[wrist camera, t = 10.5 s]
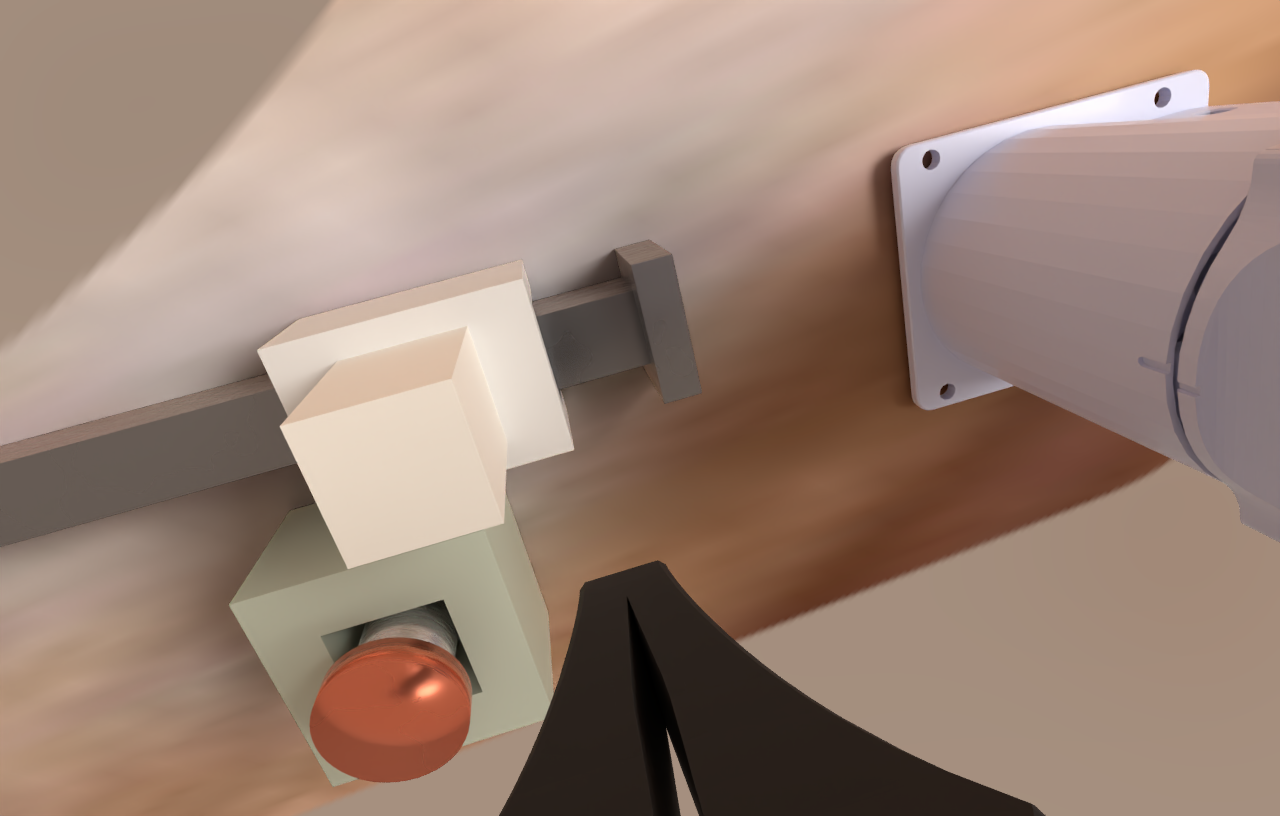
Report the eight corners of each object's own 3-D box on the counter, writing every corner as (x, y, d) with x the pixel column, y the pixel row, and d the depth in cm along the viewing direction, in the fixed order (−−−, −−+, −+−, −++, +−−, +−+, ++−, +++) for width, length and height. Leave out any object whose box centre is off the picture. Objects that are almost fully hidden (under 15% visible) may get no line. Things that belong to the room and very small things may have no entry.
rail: (649, 239, 19) (672, 253, 16) (676, 360, 20) (702, 393, 17) (-266, 485, 17) (-416, 548, 14) (-169, 599, 19) (-291, 677, 16)
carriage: (522, 259, 18) (523, 317, 12) (566, 407, 20) (589, 531, 13) (298, 319, 18) (170, 414, 11) (363, 465, 20) (284, 622, 13)
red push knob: (460, 520, 20) (440, 642, 15) (496, 614, 21) (489, 755, 16) (342, 555, 19) (282, 690, 15) (386, 647, 21) (345, 800, 16)
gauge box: (491, 453, 20) (484, 529, 16) (548, 613, 22) (555, 716, 18) (289, 510, 20) (229, 604, 16) (367, 668, 22) (332, 787, 18)
